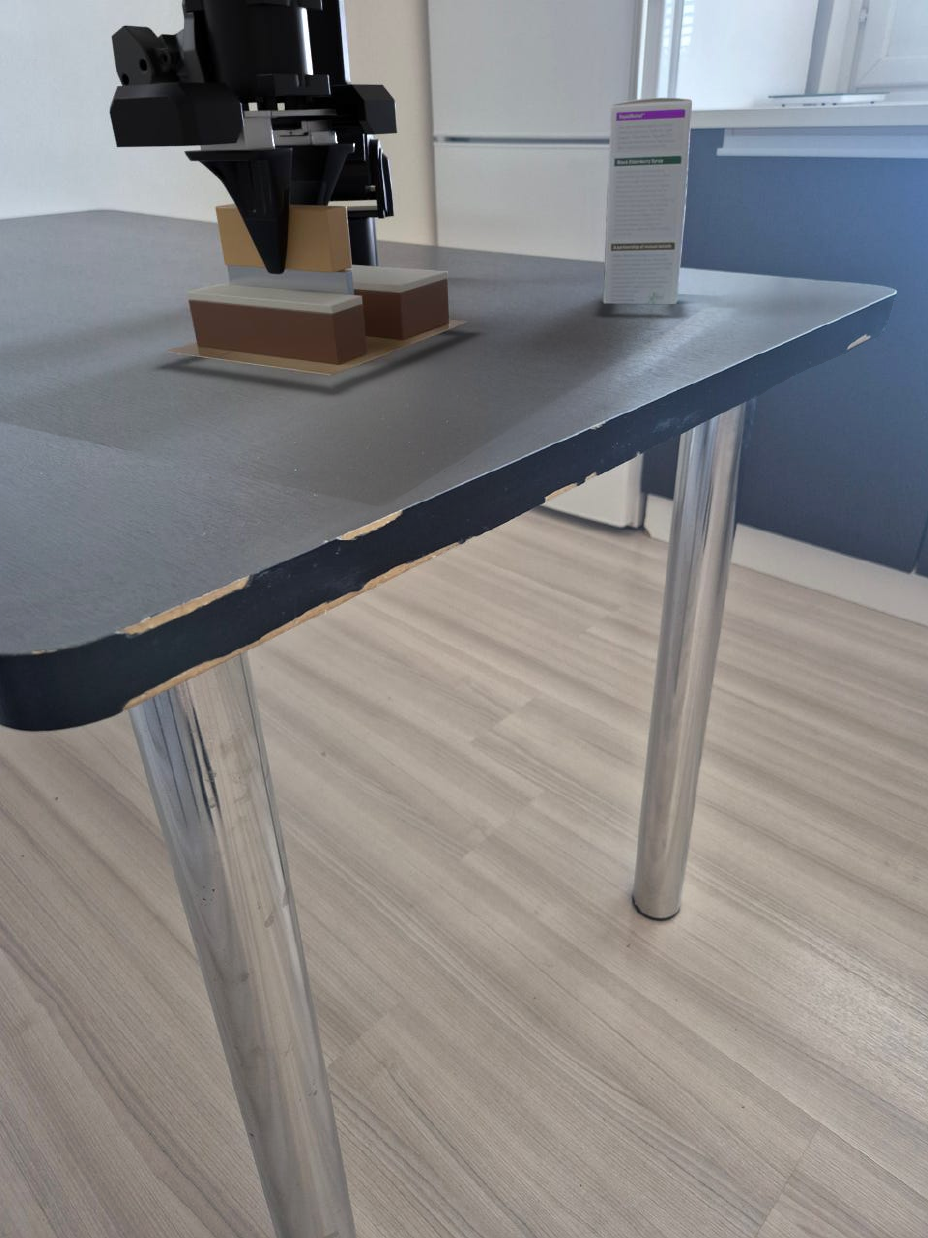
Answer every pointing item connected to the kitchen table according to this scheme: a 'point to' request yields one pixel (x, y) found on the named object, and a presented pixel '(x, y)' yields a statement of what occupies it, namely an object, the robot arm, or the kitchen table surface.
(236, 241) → the scraper
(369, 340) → the cake board
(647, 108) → the syrup box
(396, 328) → the cake
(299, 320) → the cake slice
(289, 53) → the robot arm
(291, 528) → the kitchen table surface
